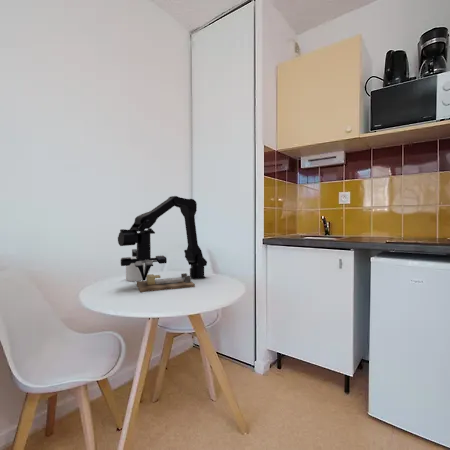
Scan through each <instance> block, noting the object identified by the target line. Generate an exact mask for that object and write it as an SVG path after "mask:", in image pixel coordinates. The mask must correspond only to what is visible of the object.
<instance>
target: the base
mask: <svg viewBox="0 0 450 450" xmlns="http://www.w3.org/2000/svg"><path fill="white" fill-rule="evenodd" d="M180 277H185V282H175V283H164V284H152V285H148V284H147V283H146V280H145V281H143V280H142V281H136V285H137V286H136V287H137V288H138V291H139V293H148V292H157V291H158V292H159V291H165V290H166V291H167V290H176V289H187V288H195V287H196V285H195V283H193V282H192V281H191V280H192V278H191V276H190V275H188V273H187V272H186V273H181V276H180Z"/></svg>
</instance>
